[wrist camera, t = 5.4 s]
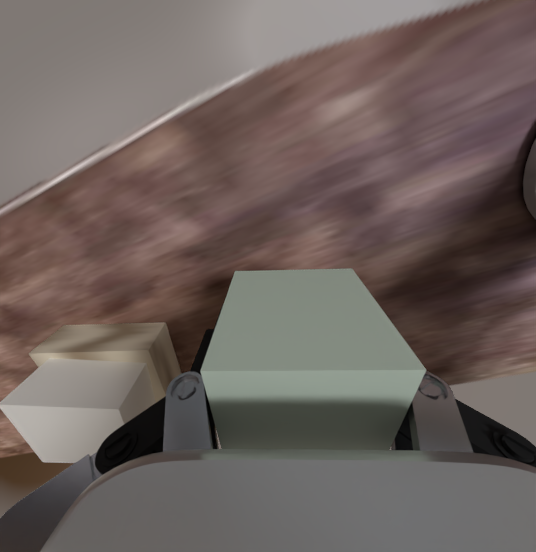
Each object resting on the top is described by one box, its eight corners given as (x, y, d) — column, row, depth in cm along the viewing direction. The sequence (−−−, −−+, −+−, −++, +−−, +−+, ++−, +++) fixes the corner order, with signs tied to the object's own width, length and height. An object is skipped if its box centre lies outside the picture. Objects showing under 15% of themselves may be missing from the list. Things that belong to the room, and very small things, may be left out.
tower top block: (146, 362, 19) (118, 409, 15) (159, 416, 22) (139, 464, 19) (49, 357, 18) (-3, 404, 15) (78, 413, 22) (42, 462, 18)
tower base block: (167, 319, 21) (148, 350, 18) (186, 384, 26) (174, 419, 23) (67, 322, 21) (28, 353, 18) (104, 387, 26) (79, 422, 22)
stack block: (352, 268, 11) (426, 369, 6) (338, 352, 14) (378, 472, 8) (235, 271, 11) (200, 370, 6) (244, 353, 14) (227, 470, 9)
